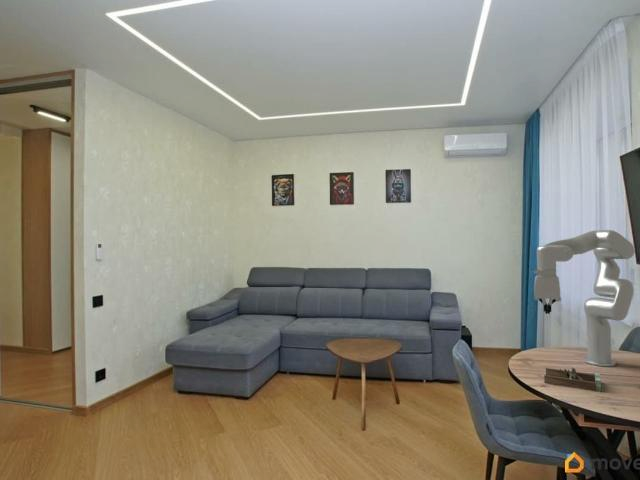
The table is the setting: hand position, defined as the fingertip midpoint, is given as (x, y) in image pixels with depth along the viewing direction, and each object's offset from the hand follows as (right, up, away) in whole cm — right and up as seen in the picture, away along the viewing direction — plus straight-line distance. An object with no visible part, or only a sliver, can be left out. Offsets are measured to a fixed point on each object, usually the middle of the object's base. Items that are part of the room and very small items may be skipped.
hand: (547, 313), depth 178 cm
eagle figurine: (+4, -27, -13) cm, 30 cm away
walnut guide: (+2, -27, -12) cm, 30 cm away
